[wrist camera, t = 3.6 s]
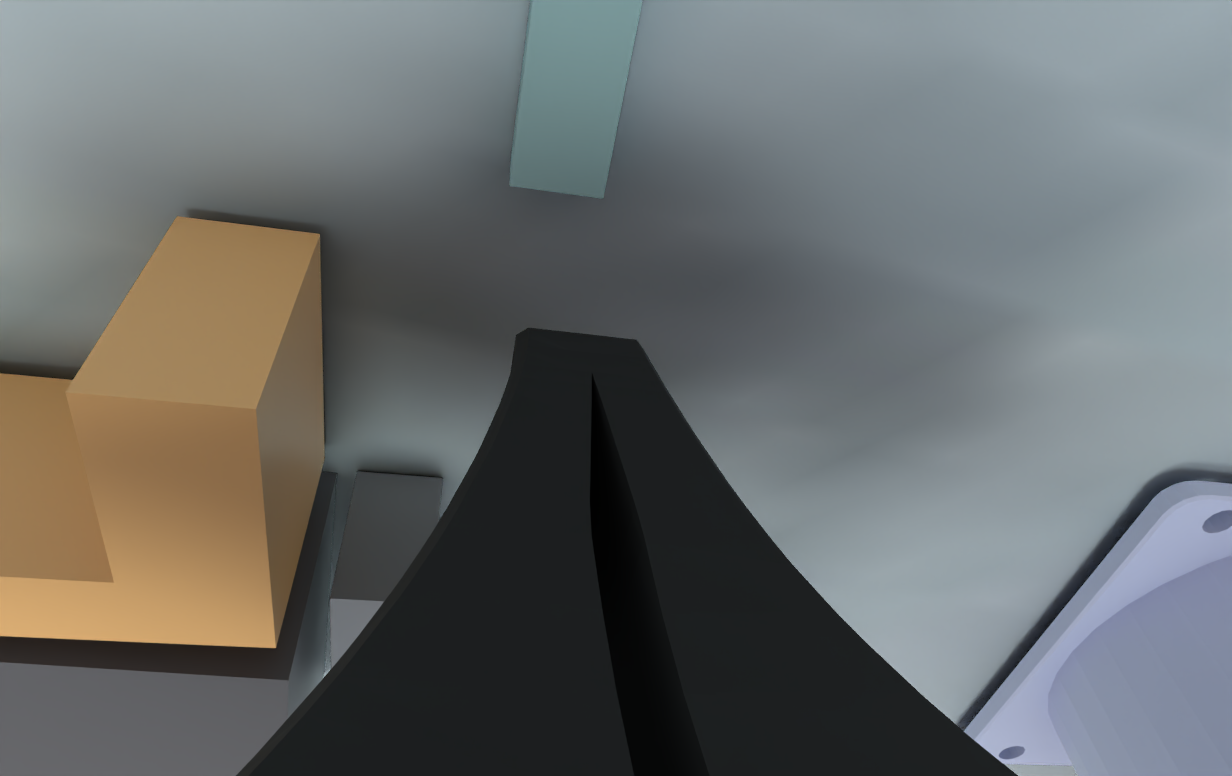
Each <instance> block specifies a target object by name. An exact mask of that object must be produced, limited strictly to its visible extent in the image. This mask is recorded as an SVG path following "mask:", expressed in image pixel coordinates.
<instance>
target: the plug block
mask: <svg viewBox="0 0 1232 776" xmlns="http://www.w3.org/2000/svg"><path fill="white" fill-rule="evenodd" d="M336 482H337V473H331V472H322V471H321V475H320V479H319V483H318V487H317V490H316V494H315V498H314V502H313V506H312V510H311V514H310V518H309V522H308V525H307V529H306V533H305V537H304V541H303V545H302V549H301V553H300V557H299V560H298V564H297V568H296V572H295V576H294V580H293V584H292V588H291V592H290V595H289V599H288V603H287V607H286V611H285V615H284V619H283V623H282V627H281V630H280V634H279V638H278V642H277V646H276V648H259V647H236V646H214V645H191V644H169V643H146V642H123V641H101V640H78V639H56V638H33V637H11V636H0V776H236V775H237V774H238V773H239V772H240V771H241V770H242V769H243V768H244V767H245V766H246V764H247V763H248V762H249V761H250V760H251V759H252V758H253V757H254V756H255V755H256V754H257V753H258V752H259V751H260V749H261V748H262V747H263V746H264V745H265V744H266V743H267V742H268V740H269V739H270V738H271V737H272V736H273V735H274V734H275V732H276V731H277V730H278V729H279V728H280V727H281V726H282V725H283V723H284V722H285V721H286V720H287V719H288V718H289V717H290V715H291V714H292V713H293V712H294V711H295V710H296V709H297V708H298V706H299V705H300V704H301V703H302V702H303V701H304V700H305V698H306V697H307V696H308V695H309V694H310V693H311V692H312V691H313V689H314V688H315V687H316V686H317V685H318V684H319V683H320V682H321V680H322V679H323V676H324V667H325V652H326V636H327V621H328V606H329V590H330V575H331V559H332V544H333V528H334V513H335V498H336Z"/></svg>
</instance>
